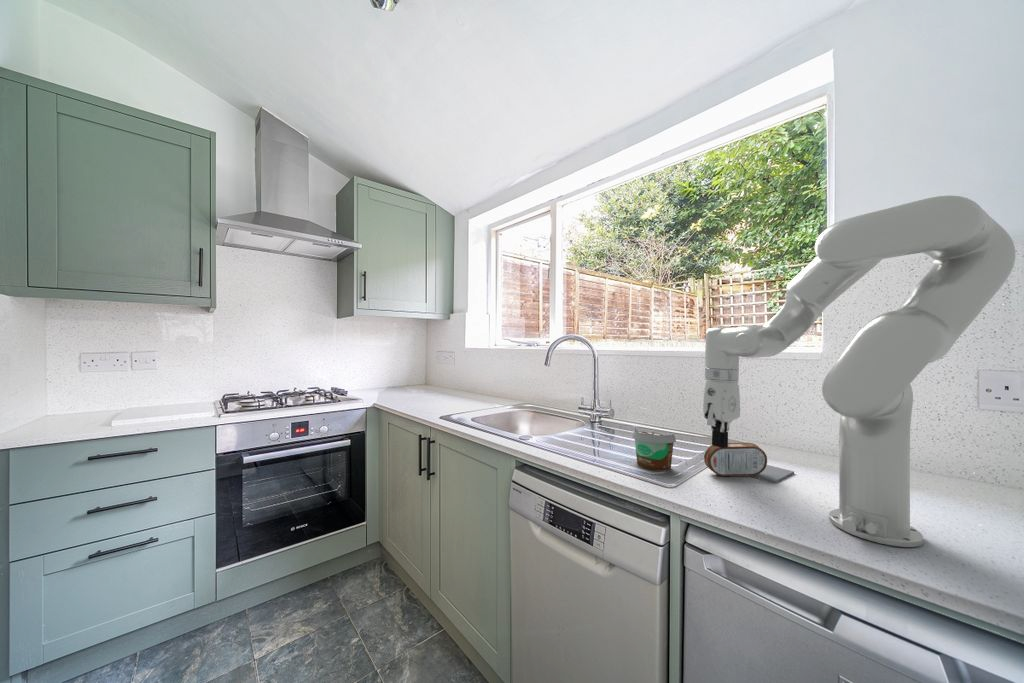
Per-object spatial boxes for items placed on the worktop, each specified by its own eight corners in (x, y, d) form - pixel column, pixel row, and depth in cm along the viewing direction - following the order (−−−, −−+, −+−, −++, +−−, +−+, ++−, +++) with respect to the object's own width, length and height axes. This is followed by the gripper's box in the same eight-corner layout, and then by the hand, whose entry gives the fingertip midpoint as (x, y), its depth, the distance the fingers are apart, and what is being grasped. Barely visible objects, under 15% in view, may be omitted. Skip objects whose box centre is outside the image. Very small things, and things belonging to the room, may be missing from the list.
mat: (775, 483, 91) (775, 480, 91) (711, 465, 105) (711, 463, 105) (794, 473, 98) (794, 471, 98) (731, 458, 111) (731, 456, 111)
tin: (763, 471, 97) (761, 440, 97) (770, 476, 94) (768, 444, 94) (704, 472, 99) (702, 442, 98) (709, 477, 96) (707, 446, 95)
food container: (624, 465, 105) (624, 430, 105) (634, 460, 110) (633, 427, 110) (668, 475, 97) (668, 438, 97) (676, 469, 101) (676, 434, 101)
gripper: (721, 378, 85) (720, 455, 86) (751, 375, 94) (749, 445, 94) (691, 375, 92) (689, 447, 92) (721, 372, 100) (719, 438, 100)
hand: (719, 446), depth 93 cm, fingers closed
